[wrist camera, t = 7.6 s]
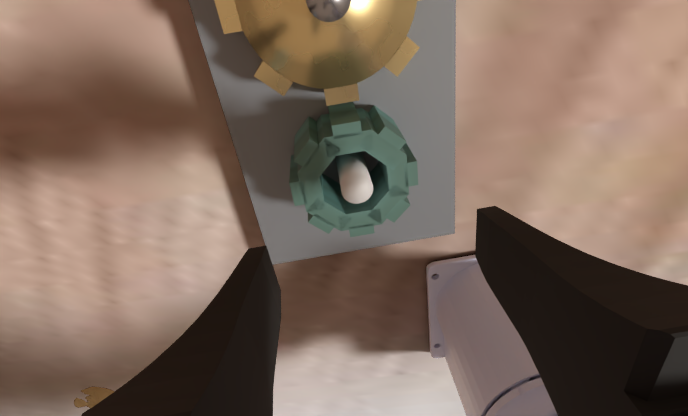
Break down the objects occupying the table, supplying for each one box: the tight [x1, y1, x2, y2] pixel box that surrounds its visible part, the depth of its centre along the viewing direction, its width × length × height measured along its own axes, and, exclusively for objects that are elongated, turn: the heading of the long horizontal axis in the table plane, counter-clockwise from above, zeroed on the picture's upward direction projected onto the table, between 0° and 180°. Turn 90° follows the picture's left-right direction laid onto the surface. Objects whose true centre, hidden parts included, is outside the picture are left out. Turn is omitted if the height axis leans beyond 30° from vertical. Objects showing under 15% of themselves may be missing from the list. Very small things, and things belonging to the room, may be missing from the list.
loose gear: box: [289, 102, 418, 237], centre depth 19 cm, size 6×6×3 cm
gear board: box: [188, 0, 456, 265], centre depth 18 cm, size 18×11×5 cm, turn 9°
